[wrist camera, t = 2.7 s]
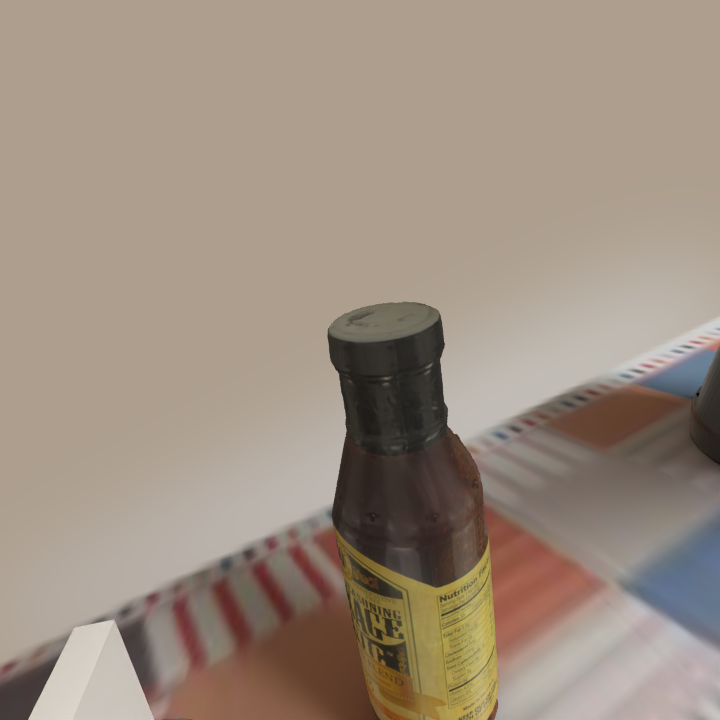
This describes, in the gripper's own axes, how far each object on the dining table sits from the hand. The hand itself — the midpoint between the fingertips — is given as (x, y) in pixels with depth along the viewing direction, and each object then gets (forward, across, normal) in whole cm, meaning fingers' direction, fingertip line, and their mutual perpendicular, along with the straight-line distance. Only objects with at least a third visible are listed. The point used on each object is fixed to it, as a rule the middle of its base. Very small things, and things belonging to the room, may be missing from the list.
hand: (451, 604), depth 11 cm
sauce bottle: (+10, 0, -16) cm, 19 cm away
